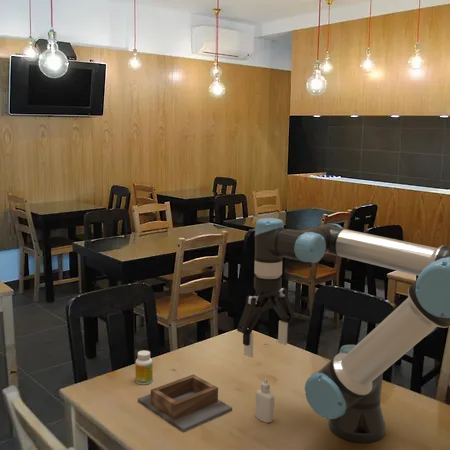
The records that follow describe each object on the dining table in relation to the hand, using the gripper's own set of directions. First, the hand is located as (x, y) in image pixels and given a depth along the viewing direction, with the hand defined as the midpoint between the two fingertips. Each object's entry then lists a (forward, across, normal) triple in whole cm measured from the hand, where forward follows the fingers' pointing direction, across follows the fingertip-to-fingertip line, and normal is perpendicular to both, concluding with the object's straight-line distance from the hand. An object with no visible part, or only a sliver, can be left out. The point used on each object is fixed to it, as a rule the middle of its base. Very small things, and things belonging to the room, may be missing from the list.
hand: (265, 349), depth 154 cm
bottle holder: (+20, +13, -20) cm, 31 cm away
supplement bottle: (+20, +13, -41) cm, 47 cm away
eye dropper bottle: (+21, 0, 0) cm, 21 cm away
